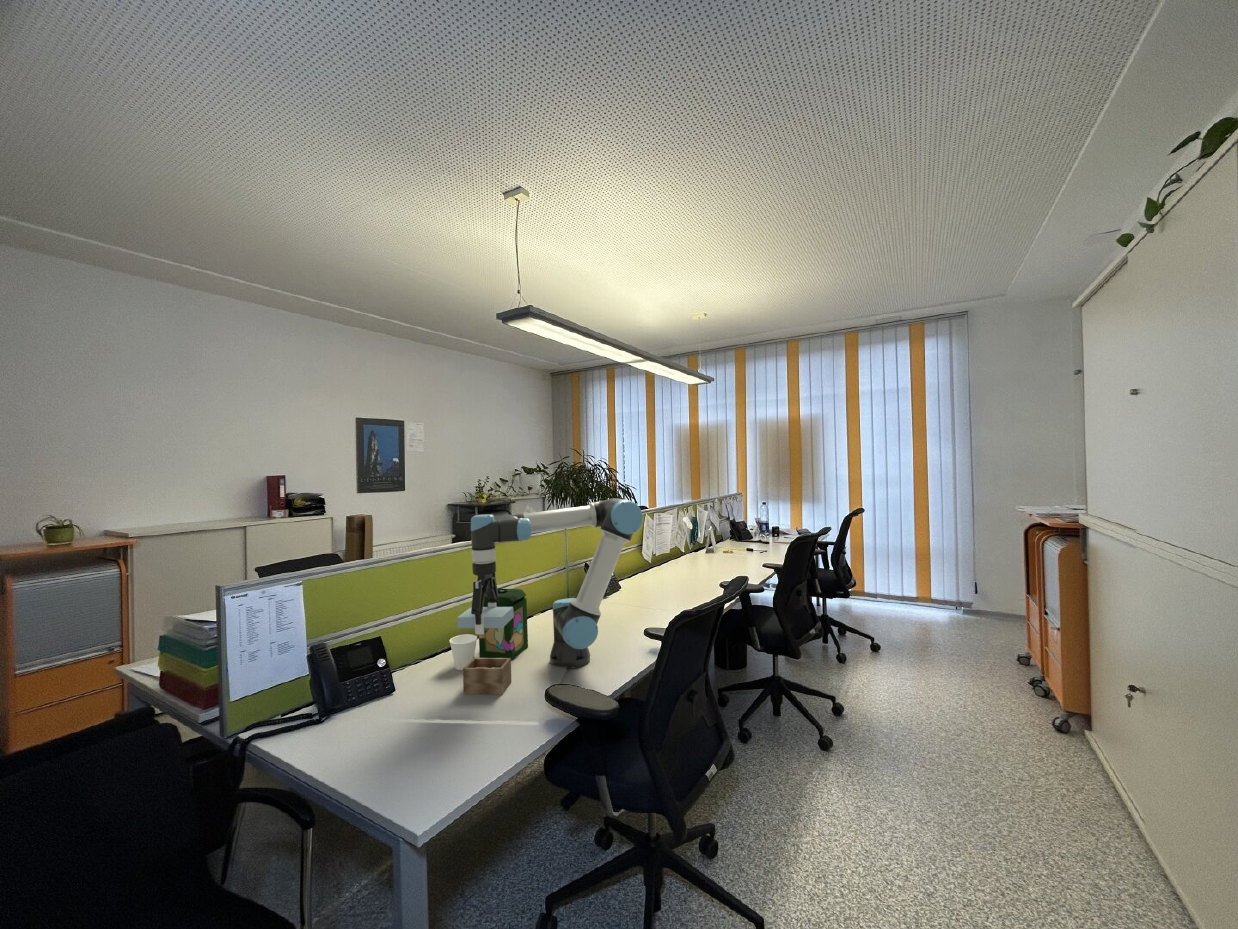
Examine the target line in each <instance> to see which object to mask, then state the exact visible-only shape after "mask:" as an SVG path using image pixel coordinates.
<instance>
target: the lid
mask: <svg viewBox="0 0 1238 929" xmlns="http://www.w3.org/2000/svg"><path fill="white" fill-rule="evenodd" d="M471 609H472V606H471V607H468V609H466V610H465V611H464V612H462V613H461V614H460V615H458V616H456V622H457V629H475V614H471ZM482 613H484V628H503V627H504V626H505V625H506V624H507V623H508V622H509V621H510V620H511V619H512V618H513V617H514V614H513V607H483V611H482Z"/></svg>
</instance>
